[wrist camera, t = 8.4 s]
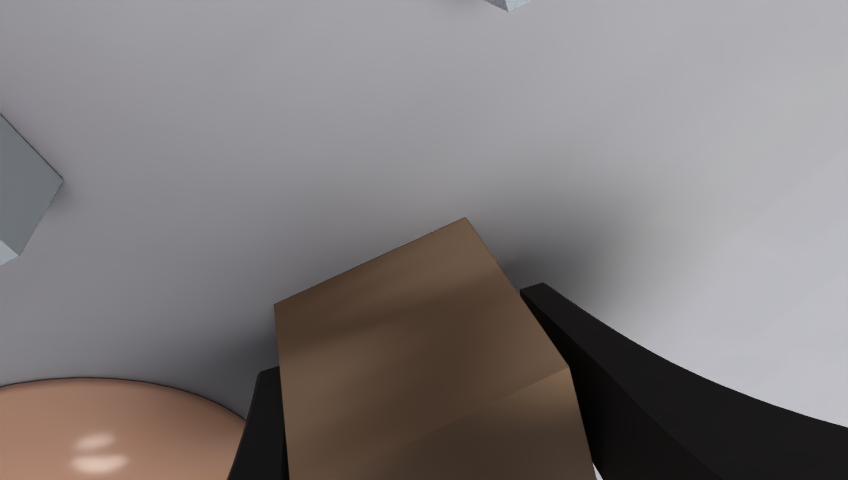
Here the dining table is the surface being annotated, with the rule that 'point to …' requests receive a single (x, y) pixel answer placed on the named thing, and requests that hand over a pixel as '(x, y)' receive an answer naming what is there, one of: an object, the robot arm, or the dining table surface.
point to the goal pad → (113, 432)
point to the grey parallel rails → (46, 181)
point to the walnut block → (425, 373)
